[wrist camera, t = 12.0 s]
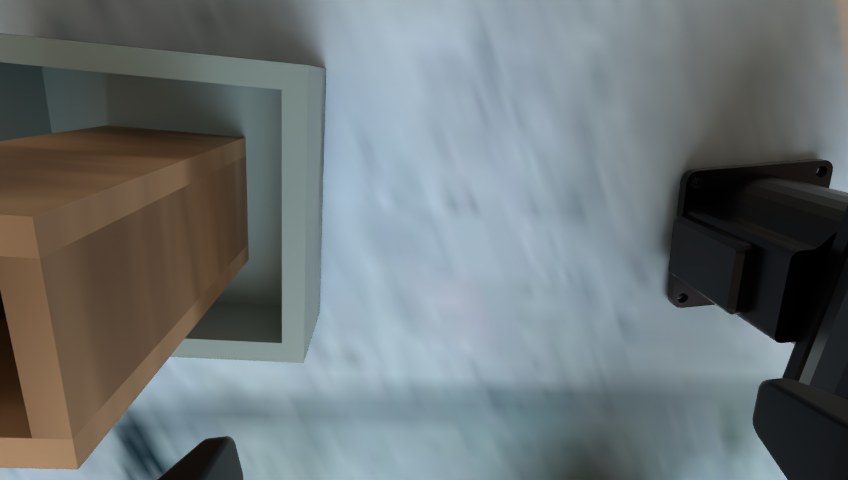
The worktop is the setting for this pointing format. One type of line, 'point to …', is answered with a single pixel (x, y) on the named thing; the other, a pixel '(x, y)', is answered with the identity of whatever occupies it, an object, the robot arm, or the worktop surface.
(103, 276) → the sleeve
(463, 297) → the worktop surface
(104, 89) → the tray
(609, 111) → the worktop surface
